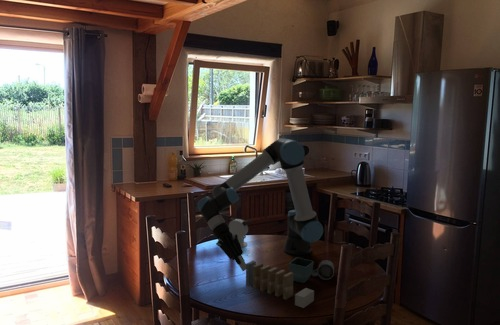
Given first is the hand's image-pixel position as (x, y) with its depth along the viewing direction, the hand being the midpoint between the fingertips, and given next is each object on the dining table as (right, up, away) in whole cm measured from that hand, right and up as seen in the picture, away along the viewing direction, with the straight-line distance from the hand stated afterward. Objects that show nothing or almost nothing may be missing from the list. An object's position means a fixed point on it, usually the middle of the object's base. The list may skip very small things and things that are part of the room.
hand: (245, 269), depth 185 cm
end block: (+24, -9, -18) cm, 32 cm away
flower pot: (+25, -6, +3) cm, 26 cm away
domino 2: (+6, -7, -3) cm, 9 cm away
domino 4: (+12, -7, -8) cm, 16 cm away
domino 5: (+15, -8, -11) cm, 20 cm away
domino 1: (+2, -6, -1) cm, 7 cm away
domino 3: (+9, -7, -6) cm, 13 cm away
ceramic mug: (+36, -6, +8) cm, 38 cm away
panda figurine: (-5, +1, +51) cm, 51 cm away
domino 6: (+18, -8, -13) cm, 24 cm away
